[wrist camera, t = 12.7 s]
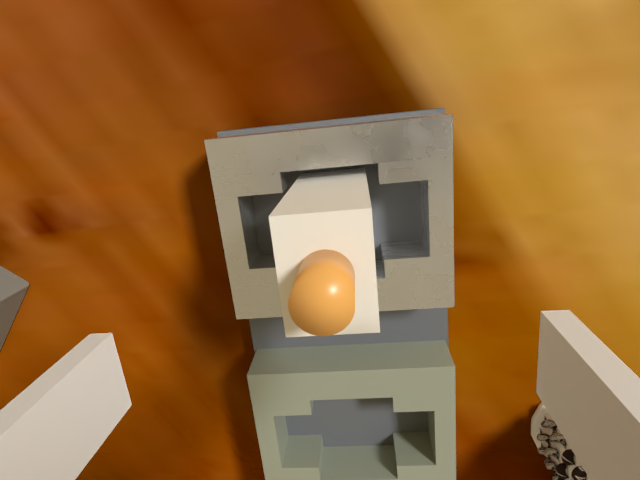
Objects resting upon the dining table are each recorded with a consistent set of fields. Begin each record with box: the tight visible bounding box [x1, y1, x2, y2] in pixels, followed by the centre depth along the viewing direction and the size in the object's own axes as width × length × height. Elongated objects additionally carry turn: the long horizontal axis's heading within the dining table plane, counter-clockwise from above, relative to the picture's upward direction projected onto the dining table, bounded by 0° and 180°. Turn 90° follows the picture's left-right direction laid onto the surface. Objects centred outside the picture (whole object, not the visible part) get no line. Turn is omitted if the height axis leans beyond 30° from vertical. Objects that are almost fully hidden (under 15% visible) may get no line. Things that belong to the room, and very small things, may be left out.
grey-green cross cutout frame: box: [247, 340, 456, 480], centre depth 34 cm, size 12×15×4 cm
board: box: [217, 108, 448, 447], centre depth 34 cm, size 30×16×2 cm, turn 6°
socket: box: [204, 113, 454, 319], centre depth 29 cm, size 12×15×4 cm
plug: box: [268, 168, 380, 337], centre depth 24 cm, size 6×4×15 cm
